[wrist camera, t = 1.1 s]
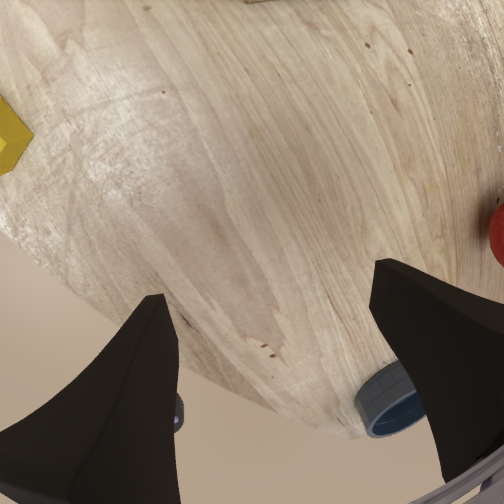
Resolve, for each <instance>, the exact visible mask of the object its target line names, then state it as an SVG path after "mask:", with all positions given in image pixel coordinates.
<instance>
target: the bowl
mask: <svg viewBox="0 0 504 504" xmlns="http://www.w3.org/2000/svg"><path fill="white" fill-rule="evenodd" d="M355 407H356V409H357V412H358V415H359V417H360V419H361V421H362V424H363V426H364V428H365V431H366V433H367V435H368V436H370V437H372V438H383V437H387V436H391V435H394V434H396V433H399V432H401V431H403V430H405V429H407V428H409V427H411V426H412V425H414V424H415V423H417V422H419V421H420V420H421V419H423V418H424V417H425V416H426V413H425V410H424V408H423V405H422V403H421V400H420V398H419V396H418V394H417V391H416V389H415V387H414V385H413V383H412V381H411V379H410V377H409V375H408V374H407V372H406V370H405V369H404V367H403V366H402V364H401V363H400V361H397V362H395V363H393V364H391V365H389V366H388V367H386V368H384V369H383V370H381V371H380V372H379V373H377V374H376V375H375V376H373V377H372V378H371V379H370V380H369V381H368V382H367V383H366V384H365V385H364V386H363V387H362V388H361V390H360V391H359V393H358V394H357V396H356V399H355Z"/></svg>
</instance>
